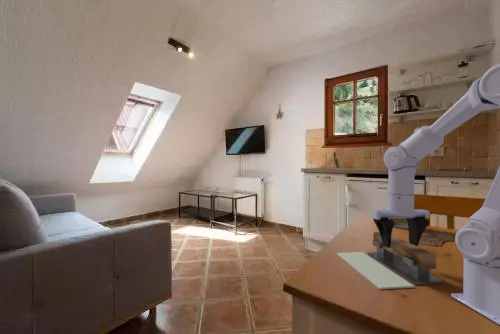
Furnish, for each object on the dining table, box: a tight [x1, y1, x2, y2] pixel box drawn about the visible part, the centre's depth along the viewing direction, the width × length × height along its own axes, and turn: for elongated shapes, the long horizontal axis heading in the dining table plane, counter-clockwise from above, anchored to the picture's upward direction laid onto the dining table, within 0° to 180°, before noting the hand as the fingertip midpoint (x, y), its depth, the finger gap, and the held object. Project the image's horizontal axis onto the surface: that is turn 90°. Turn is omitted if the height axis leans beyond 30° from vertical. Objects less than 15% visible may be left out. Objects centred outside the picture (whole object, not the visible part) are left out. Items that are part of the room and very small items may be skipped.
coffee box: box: [389, 218, 409, 230], centre depth 103 cm, size 9×6×16 cm
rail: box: [373, 231, 437, 270], centre depth 63 cm, size 18×3×3 cm, turn 6°
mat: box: [336, 251, 415, 290], centre depth 62 cm, size 20×8×1 cm, turn 6°
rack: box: [366, 239, 444, 286], centre depth 63 cm, size 18×7×5 cm, turn 6°
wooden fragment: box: [418, 230, 455, 247], centre depth 88 cm, size 26×11×1 cm, turn 123°
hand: (400, 245), depth 63 cm, fingers open, 7 cm apart
